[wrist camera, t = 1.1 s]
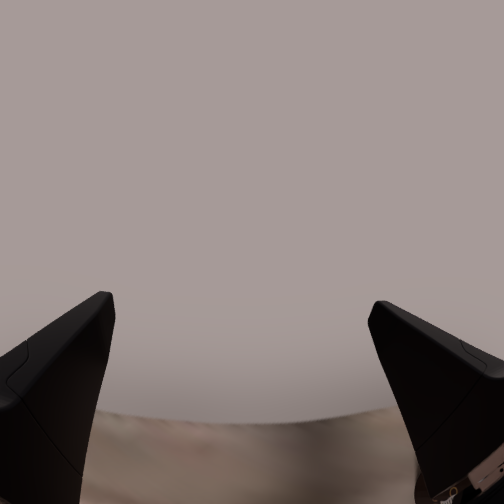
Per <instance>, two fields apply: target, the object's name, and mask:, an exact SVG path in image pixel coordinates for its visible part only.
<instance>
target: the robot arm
mask: <svg viewBox="0 0 504 504" xmlns="http://www.w3.org/2000/svg"><path fill="white" fill-rule="evenodd" d="M114 324H115V308H114V301H113V295H112V293H110V292H104V291H99V292H97V293H96V294H94V295H93V296H91V297H90V298H88V299H87V300H85V301H83V302H82V303H80V304H79V305H78V306H76V307H74V308H73V309H71V310H70V311H68V312H67V313H65V314H63V315H62V316H61V317H59V318H58V319H56V320H54V321H53V322H52V323H50V324H49V325H47V326H46V327H44V328H43V329H41V330H40V331H38V332H37V333H35V334H34V335H32V336H31V337H30V338H28V339H27V341H26V340H25V341H24V342H22V343H21V344H19V345H18V346H16V347H15V348H13V349H12V350H11V351H9V352H8V353H6V354H4V355H3V356H1V357H0V504H79V502H80V493H81V485H82V477H83V471H84V464H85V458H86V453H87V447H88V442H89V437H90V432H91V427H92V423H93V418H94V414H95V409H96V405H97V401H98V396H99V393H100V389H101V385H102V381H103V377H104V374H105V370H106V366H107V363H108V358H109V352H110V346H111V340H112V335H113V329H114ZM368 327H369V330H370V333H371V336H372V339H373V342H374V345H375V348H376V351H377V354H378V357H379V360H380V362H381V365H382V367H383V370H384V372H385V374H386V377H387V379H388V382H389V384H390V387H391V389H392V391H393V394H394V396H395V399H396V402H397V404H398V407H399V409H400V412H401V415H402V417H403V420H404V422H405V425H406V428H407V431H408V433H409V436H410V439H411V442H412V445H413V447H414V450H415V451H416V452H415V454H416V457H417V460H418V463H419V466H420V469H421V472H422V475H423V478H424V481H425V485H426V488H427V491H428V495H429V497H430V499H432V498H434V497H436V496H438V495H439V494H441V493H443V492H445V491H446V490H448V489H450V488H451V487H453V486H454V485H456V484H458V483H459V482H461V481H462V480H464V479H465V478H467V477H468V478H469V480H470V481H471V483H472V484H471V485H470V486H468V487H467V488H465V489H464V490H462V491H461V492H459V493H458V494H456V495H455V496H454V497H453V501H452V504H504V361H503V360H501V359H499V358H497V357H495V356H492V355H490V354H488V353H486V352H484V351H482V350H480V349H478V348H475V347H474V346H472V345H470V344H468V343H466V342H464V341H462V340H460V339H458V338H457V337H455V336H453V335H451V334H449V333H447V332H445V331H443V330H441V329H440V328H438V327H436V326H434V325H432V324H430V323H428V322H426V321H424V320H422V319H421V318H418V317H417V316H415V315H413V314H411V313H409V312H407V311H405V310H403V309H401V308H399V307H397V306H395V305H393V304H392V303H390V302H388V301H376V302H375V304H374V306H373V308H372V311H371V313H370V316H369V318H368Z"/></svg>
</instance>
